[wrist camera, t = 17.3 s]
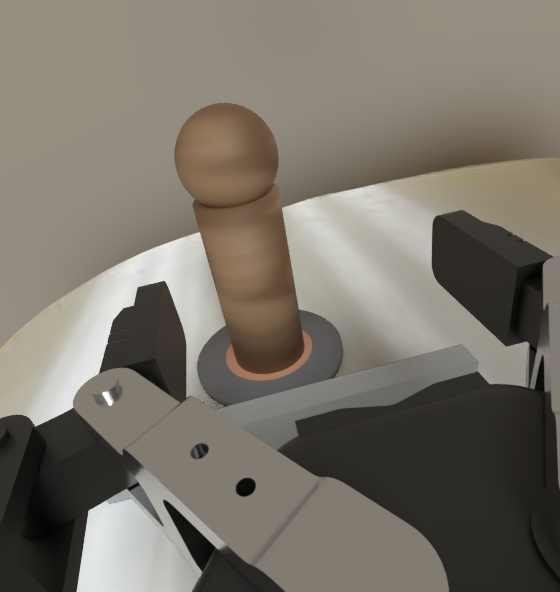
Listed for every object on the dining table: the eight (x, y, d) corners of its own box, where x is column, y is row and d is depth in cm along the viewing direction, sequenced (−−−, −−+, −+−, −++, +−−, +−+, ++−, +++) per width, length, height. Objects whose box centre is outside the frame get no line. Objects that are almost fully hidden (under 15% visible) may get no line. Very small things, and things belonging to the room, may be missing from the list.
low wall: (108, 504, 22) (85, 466, 20) (113, 478, 23) (91, 442, 21) (473, 402, 23) (478, 361, 22) (458, 384, 25) (461, 344, 23)
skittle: (248, 324, 32) (193, 100, 24) (317, 328, 30) (283, 88, 22) (218, 372, 28) (138, 122, 20) (295, 381, 26) (243, 108, 18)
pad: (234, 311, 35) (232, 305, 35) (354, 318, 32) (354, 311, 31) (172, 400, 27) (169, 392, 27) (322, 422, 24) (321, 414, 24)
